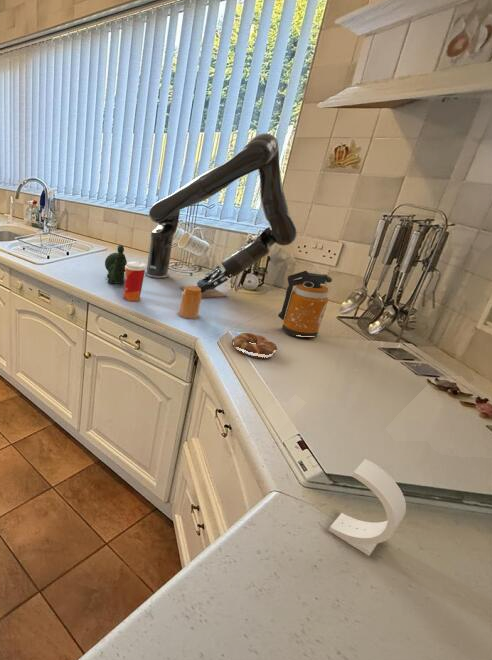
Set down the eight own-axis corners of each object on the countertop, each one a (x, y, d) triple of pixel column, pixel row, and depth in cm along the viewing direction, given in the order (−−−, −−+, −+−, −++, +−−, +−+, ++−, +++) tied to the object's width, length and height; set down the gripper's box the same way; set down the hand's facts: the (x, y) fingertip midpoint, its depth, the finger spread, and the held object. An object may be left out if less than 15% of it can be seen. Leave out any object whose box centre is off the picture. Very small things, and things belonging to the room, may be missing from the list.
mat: (180, 288, 163) (181, 286, 163) (208, 286, 164) (208, 285, 164) (197, 298, 152) (197, 297, 152) (226, 297, 153) (226, 295, 153)
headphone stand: (340, 516, 64) (365, 458, 59) (389, 545, 59) (420, 485, 54) (328, 530, 61) (353, 471, 57) (378, 562, 57) (410, 501, 52)
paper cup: (127, 293, 158) (131, 260, 153) (145, 298, 153) (150, 263, 148) (117, 298, 153) (121, 264, 148) (135, 304, 148) (140, 268, 143)
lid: (209, 290, 153) (210, 286, 152) (194, 286, 158) (195, 282, 157) (218, 287, 156) (219, 282, 156) (202, 283, 161) (203, 278, 160)
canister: (316, 343, 118) (336, 279, 110) (272, 333, 124) (288, 273, 116) (316, 332, 124) (335, 271, 117) (274, 323, 131) (290, 265, 123)
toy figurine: (128, 293, 163) (123, 270, 185) (134, 250, 154) (128, 231, 176) (105, 292, 165) (102, 269, 187) (109, 249, 156) (106, 231, 178)
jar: (175, 312, 140) (180, 285, 137) (192, 311, 141) (196, 285, 137) (184, 319, 135) (189, 291, 131) (201, 318, 135) (206, 290, 131)
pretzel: (221, 341, 120) (223, 330, 118) (255, 339, 120) (258, 328, 119) (247, 361, 108) (250, 349, 107) (284, 359, 109) (288, 347, 108)
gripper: (249, 274, 144) (207, 301, 152) (241, 264, 156) (203, 289, 165) (235, 259, 144) (194, 286, 152) (228, 250, 156) (191, 275, 164)
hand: (199, 287), depth 158 cm, fingers closed on lid, 6 cm apart
